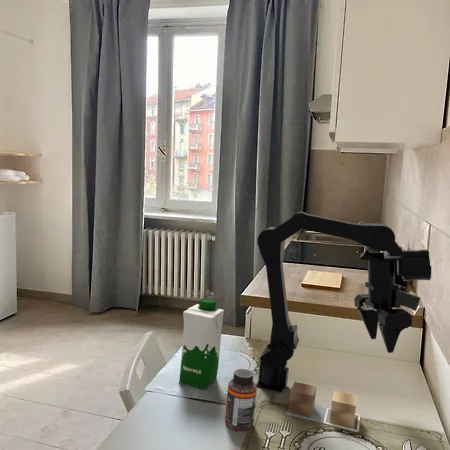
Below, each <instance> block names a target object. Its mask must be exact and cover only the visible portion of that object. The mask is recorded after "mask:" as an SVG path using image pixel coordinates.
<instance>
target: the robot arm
mask: <svg viewBox="0 0 450 450" xmlns="http://www.w3.org/2000/svg"><path fill="white" fill-rule="evenodd" d="M301 230H304V231H309V232H314V233H317V234H322V235H323V234H324V235H327V236H328V235H329V236H332V237H338V238H342V239H346V240H351V241H352V242H353V241H354V242H356V243H358V244H360V245H362V246H364V247H367V248H366V249H365V250H364V252H362V253H361V254H360V255H359V260H360V261H367V274H368V275H367V277H368V280H367V281H365V282H364V285H365V286H364V287H366V288H367V291H368V292H367V293H364V294H357V295H356V296H355V297H354V300H353V301H354V306H355V307H356V310H357V312H358V314H359V316H360V318H361V320H362V322H363V324H364V326H365V328H366V331H367V334H368V335H369V337H370V339H371V340H376V339H377V334H378V328H379V331H380V333H381V337H382V339H383V343H384V347H385V349H386V352H387V353H389V354H392V353H394V351H395V349H396V345H397V342H398V339H399V336H400V335H401V333H402V331H405V329H409V328H410V327H412V326H414V316H413V315H412V314H411V313H410V312H409V311H407V310H406V309H404V308H402V307H406V308H409V309H411V310H412V311H417V310H418V306H419V304H420V301H421V297H420V296H417V295H416V294H413V293H411V292H408V290H407V289H408V287H405V286H403V285H401V284H400V285H399V284H397V283H395V278H396V277H395V276H396V275H398V276H401V278H402V280H404V281H405V280H407V281H431V279H432V265H431V259H430V251H429V250H428V249H419V250H417V249H416V250H415V249H414V250H413V249H408V250H407V249H405V250H403V247H402V246H401V245H399V244H398V243H397V242H396V235H395V233H394V231H393V230H392V228H391V227H390V226H389V225H387V224H385V223H364V222H362V223H357V222H355V223H354V222H349V221H345V220H340V219H335V218H330V217H324V216H320V215H315V214H310V213H307V212H306V211H305V212H304V211H299V212H296V213H295V214H294V215H293V216H292V217H290V218H289V219H287V220H286V221H285V222H283V223H281V224H280V225H278V226H277V227H276V226H270V227H268V228H266V229H263V230H262V231H261V232H259V235H258V236H257V246H258V250H259V254H260V256H261V259H262V261H263V263H264V266H265V270H266V277H267V287H268V295H269V296H268V297H269V305H270V313H271V321H272V323H271V324H272V325H271V331H270V338H269V339H270V341H269V343H268V344H266V345H265V348H264V349H263V351H262V353H261V354H260V356H259V360H260V362H259V370H258V371H259V372H258V379H257V383H255V384H256V386H257V388H260V389H264V390H268V391H272V392H277V393H282V392H283V391H284V389H286V387H287V385H288V382H289V381H288V380H289V373H290V371H289V370H290V368H289V367H288V361H289V360H292V359H291V358H293V356H294V353H295V350H297V347H298V345H299V342H300V338H299V335H298V325H297V324H294V325H293V324H292V322H291V320H290V318H289V317H290V316H289V309H288V307H289V306H288V298H287V291H286V290H287V289H286V281H285V272H284V264H283V263H284V258H285V257H284V256H285V249H286V247H285V245H286V240H287V239H290V237H291V236H293V235H296V233H299V231H301ZM369 248H370V249H373V250H374V251H370V250H369ZM385 252H387V253H389V254H390V255H385ZM395 262H396V263H395ZM395 264H396V267H395ZM395 268H396V273H397V274H396V275H395Z"/></svg>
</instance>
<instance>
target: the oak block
mask: <svg viewBox="0 0 450 450" xmlns="http://www.w3.org/2000/svg"><path fill="white" fill-rule="evenodd" d="M357 402H358V395H356V394H352V393H351V394H350V393H347V392H342V391H338V390H333V395H332V399H331V407H330V408H331V413H330V421H329V422H330V423H334V424H338V425H342V426H346V427H350V428H353V427H354V419H355V414H356V409H357V404H358V403H357Z"/></svg>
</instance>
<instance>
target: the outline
mask: <svg viewBox="0 0 450 450" xmlns="http://www.w3.org/2000/svg"><path fill="white" fill-rule="evenodd" d="M326 408H327V411H326V414H325V418H324V422H323V423H322V424H324V425H328V426H331V427H335V428H339V429H343V430H345V431H346V430H347V431H351V432H355V433H359V432H360V422H361V415H360V414H358V413H355V416H356V417H357V424H356V429H350V428H346V427H342V426H338V425H334V424H330V423H326V419H327V415H328V411H329V409H330V410H331V407H326Z"/></svg>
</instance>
